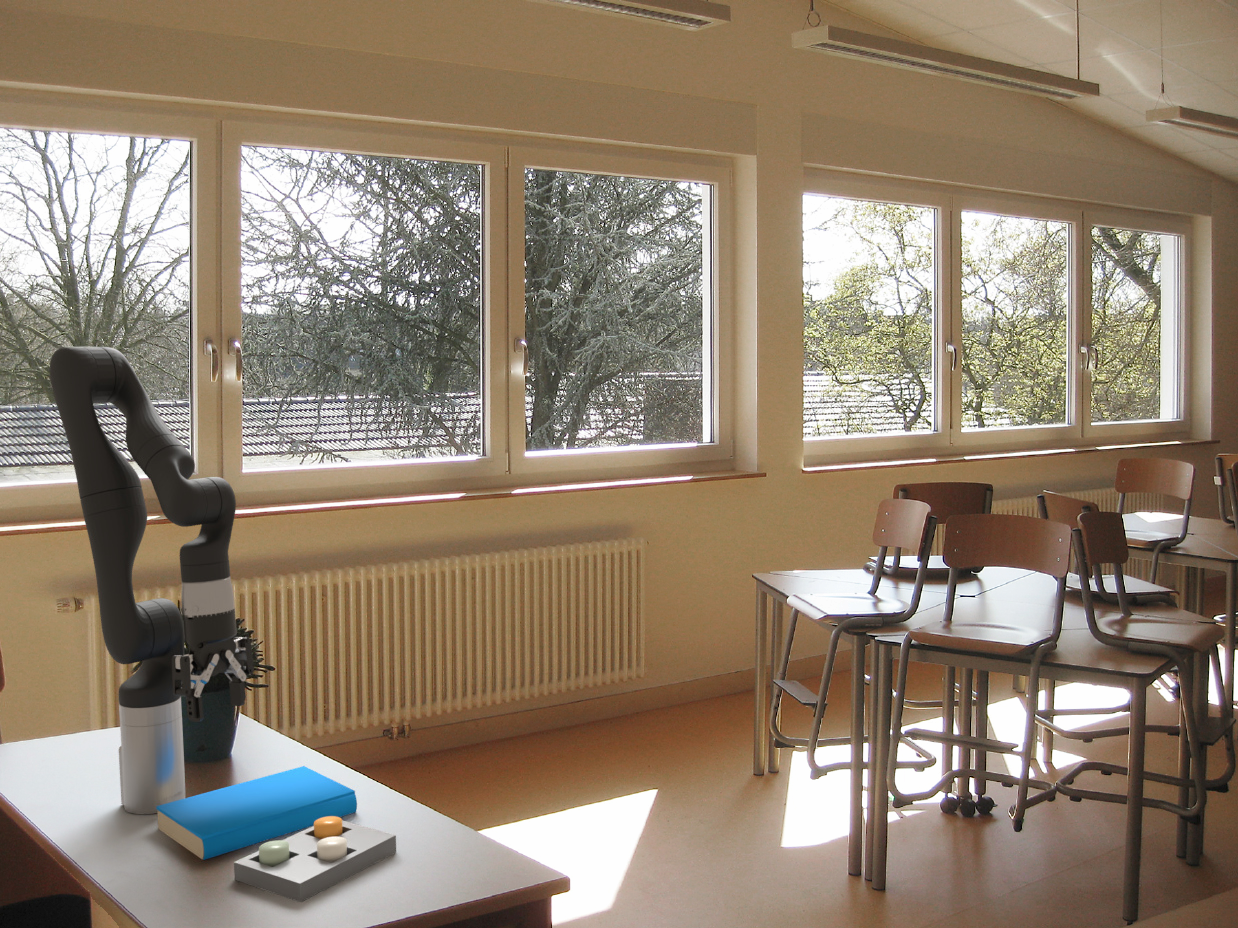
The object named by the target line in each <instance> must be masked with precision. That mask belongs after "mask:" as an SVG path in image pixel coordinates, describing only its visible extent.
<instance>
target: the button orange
mask: <svg viewBox="0 0 1238 928" xmlns="http://www.w3.org/2000/svg"><path fill="white" fill-rule="evenodd" d="M342 821H343V818H341V817H336V816H328V817H322V818H319V819H317V820H316V821H315V822H314V825H313V826H314V837H316V838H320V839H324V838H327V837H337V836H339V835H341V834H343V830H342Z"/></svg>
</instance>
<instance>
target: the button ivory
mask: <svg viewBox="0 0 1238 928" xmlns="http://www.w3.org/2000/svg"><path fill="white" fill-rule="evenodd" d="M345 856H347V841H346V839H345V838H343V837H327V838H324V839H322V840H320V841H318V843H317V859H320V860H323V861H327V862H330V863H333V862H335V861H337V860H339V859H341V858H343V857H345Z"/></svg>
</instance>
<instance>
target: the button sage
mask: <svg viewBox="0 0 1238 928" xmlns="http://www.w3.org/2000/svg"><path fill="white" fill-rule="evenodd" d="M281 840H282V839H280V840H270V841H267V842H264V843H262V844H261V845H259V847H258V851H259V863H261V864H264V865H267V866H271V867H274V866H276V865H278V864H280V863H282V862H284V861H287V860H289V859H290V857H289V843H288V842H286V841H281Z"/></svg>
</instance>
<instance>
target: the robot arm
mask: <svg viewBox="0 0 1238 928" xmlns="http://www.w3.org/2000/svg"><path fill="white" fill-rule="evenodd" d="M49 381H50V385H51V390H52V394H53V396H54V401H55V404H56V407H57V411H58V414H59V417H60V419H61V423H62V425H63V428H64V432H65V436H66V438H67V440H66V441H67V443H68V446H69V451H70V454H71V458H72V465H73V468H74V472H75V478H76V482H77V489H78V495H79V500H80V501H79V502H80V505H81V510H82V513H83V514H82V516H83V519H84V524H85V528H86V531H87V536H88V539H89V544H90V550H91V555H92V559H93V567H94V571H95V578H96V586H97V595H98V606H99V616H100V623H101V625H100V626H101V631H102V636H103V640H104V644H105V647H106V649H107V651H108V654H109V655H110V657H111V658H112V660H114V661H115V662H116V663H118V664H120V665H131V664H135V663H138V662H142V663H141V665H140V666H139V668H138V669H137V670H136V672H135V673H133V674H132V675H131V676H130V677H128V678H127V679H126V680H125V681H123V683H121V684H120V686H119V687H118V709H119V726H120V743H121V744H120V746H119V747H118V761H119V762H118V763H119V783H120V784H119V785H120V802H121V803H120V804H121V805H123V806H124V808H123V809H124V810H125V811H126V812H128V813H131V814H135V815H149V814H158V811H157V809H156V806H159V805H163V804H166V803H170V802H174V801H177V800H181V799H185V798H186V782H185V781H186V779H185V776H186V775H185V773H186V772H185V756H184V755H185V754H184V736H183V735H184V734H183V733H184V732H183V716H182V715H183V714H182V713H183V711H182V697H184V698H185V704H186V714H187V718H188V719H189V721H190V722H194V723H195V722H197V723H199V722H202V721H204V705H203V696H201V694H202V692H203V689H204V687H205V685H206V684H207V683H209V681H210V679H211V677H215V676H217V675H218V674H224V675H226V677H227V678H228V680H229V682H228V685H229V686H228V687H229V695H230V704H231V706H233V707H241V706H244V705H245V701H246V698H247V697H246V696H247V695H246V687H245V686H246V685H245V681H246V680H247V677H248V676H250V675H253V674H254V672H255V666H254V665H255V664H254V659H253V651H252V644H251V639H250V637H247V636H245V637H244V636H243V637H242V636H237V633H238V630H237V621H236V608H235V596H234V588H233V584H232V579H231V570H230V559H229V547H230V542H231V536H232V532H233V528H234V527H233V526H234V522H235V516H236V509H237V508H236V507H237V500H236V496H235V495H236V494H235V492H234V490H233V488H232V486H231V484H230V483H229V481H227V480H226V479H225V478H222V477H220V476H210V477H201V478H191V477H192V475H193V473H194V472H195V468H196V466H195V465H196V464H195V463H196V462H195V459H194V458H193V456H192V455H191V453H190V452H189V450H188V449H186V447H185V446H184V445H183V444H182V443H181V442H180V440H179V439H178V437H177V436H176V435H175V434H174V433H173V432H172V430H170V428H169V427H168V425H166V423H165V422H164V421H163V419H162V418H161V416H160V414H159V412H158V411H157V408H156V407H155V406H154V403H153V402H152V400H151V398H150V396H149V394H148V392H147V391H146V389H145V387H144V386H143V383H142V382H141V380H140V379H139V376H138V375H137V373H136V372H135V369H134V368H133V366H132V365H131V363H130V362H129V360H128V359H127V357H126V356H125V355H124V354H123V353H122V352H121V351H119V350H118V349H117V348H115V347H114V348H112V347H108V346H65V347H64V346H63V347H60V348H58V349H57V350H55V351H54V352H53V354H52V356H51V358H50V363H49ZM109 403H110V404H112V405H113V406H114V407H116V408H117V409H118V410H119V411H120V412H121V413H122V414H123V416H124V418H125V420H126V421H125V422H126V424H125V426H126V427H125V441H126V442H125V443H126V447H127V450H128V452H129V454H130V456H131V457H132V459H133V461H134V462H135V463H136V465H138V467H139V468H140V469H141V471H142V472H143V473H144V475H146V476H147V478H148V479H149V480H150V482H151V484H152V487H153V490H154V492H155V495H156V498H157V500H158V503H159V506H160V508H161V510H162V511H161V512H162V513H163V515H164V516H165V518H166V519H167V520H168V521H169V522H171V523H172V524H174V525H176V526H178V527H185V528H187V527H195V526H200V525H201V526H200V530H199V534H198V535H197V537H195V538H194V539H193V540H190V541H188V542H186V543H185V544H183V545H182V546H181V547H180V549H179V564H180V579H181V596H180V597H181V598H180V599H181V600H180V601H181V609H182V610H181V611H182V612H181V611H180V609H179V608H178V606H177V604H176V603H175V602H173V601H172V599H168V598H164V597H162V598H153V599H148V600H143V601H139V602H138V601H137V602H136V599H135V594H134V587H133V586H134V585H133V569H134V563H135V560H136V557H137V553H138V551H139V548H140V545H141V544H142V540H143V538H144V534H145V532H146V527H147V523H148V511H147V506H146V505H147V504H146V502H145V501H146V500H145V495H144V491H143V488H142V487H143V486H142V483H141V479H140V477H139V475H138V473H137V471H136V470H135V469H134V467H133V466H132V465H131V463H130V462H129V461H128V460H127V458H126V457H125V456H124V454H122V453H121V452H120V450H119V449H118V448H117V447H116V446H115V445H114V444H113V443H112V442H111V440H110V439H109V438H108V437H107V434H106V433H105V432H104V430H103V429H102V427H101V424H100V422H99V419H98V416H97V412H96V410H95V407H94V405H97V404H109ZM190 478H191V479H190ZM185 642H187V644H188V646H189V647H188V652H187V654H185ZM198 674H199V675H198Z"/></svg>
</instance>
